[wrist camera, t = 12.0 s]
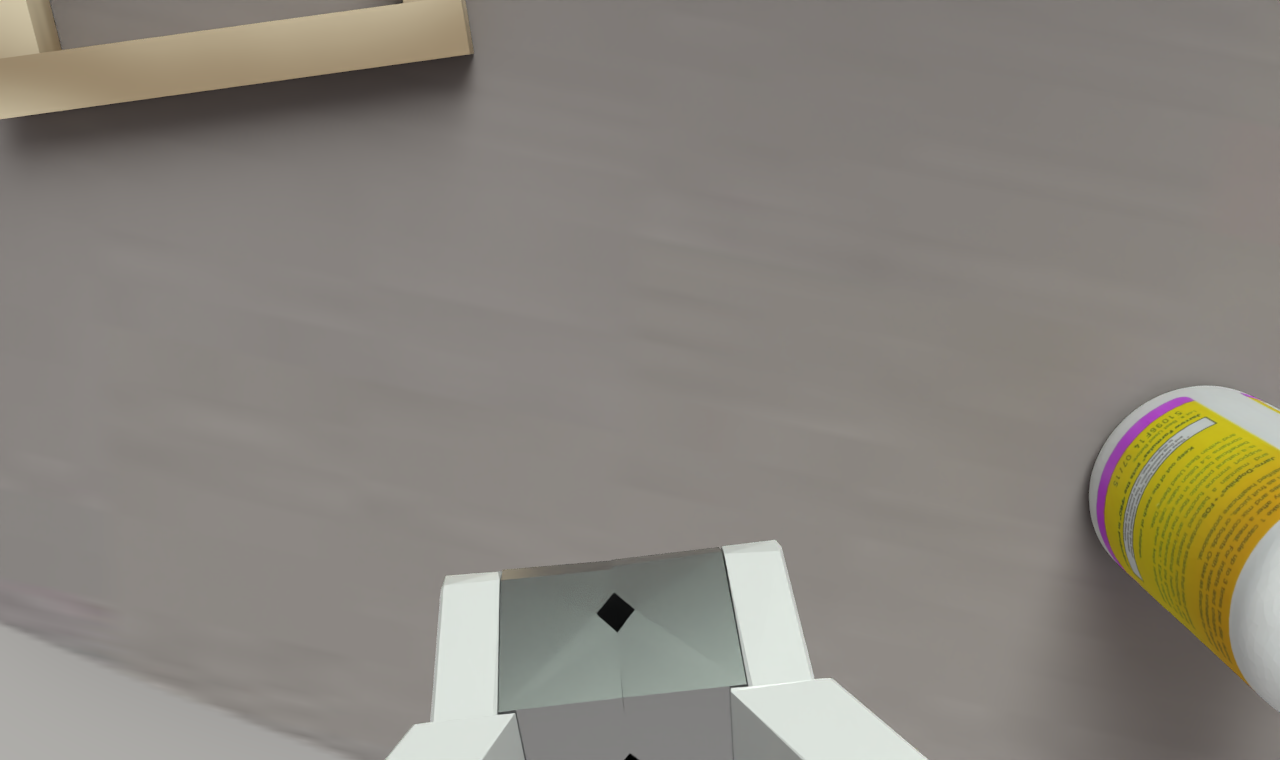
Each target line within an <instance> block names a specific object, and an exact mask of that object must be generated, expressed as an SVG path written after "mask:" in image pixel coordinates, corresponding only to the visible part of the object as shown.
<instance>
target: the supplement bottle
mask: <svg viewBox="0 0 1280 760" xmlns="http://www.w3.org/2000/svg"><path fill="white" fill-rule="evenodd" d="M1089 507H1090V514H1091V519H1092V523H1093V526H1094V529H1095V532H1096V534H1097V536H1098V538H1099V540H1100V542H1101V544H1102V545H1103V547H1104V549H1105V550H1106V551H1107V553H1108V554H1109V555H1110V556H1111V557H1112V559H1113V560H1114V561H1115V562H1116V563H1117V564H1118V565H1119V566H1120V567H1121V568H1122V569H1123V570H1124V571H1125V572H1127V573H1128V574H1129V575H1130V576H1131V577H1132V578H1133V579H1134V580H1135V581H1136V582H1137V583H1138V584H1139V585H1141V586H1142V587H1143V588H1144V589H1145V590H1146V591H1147V592H1148V593H1149V594H1150V595H1151V596H1153V597H1154V598H1155V599H1156V600H1157V601H1158V602H1159V603H1160V604H1161V605H1162V606H1163V607H1164V608H1165V609H1166V610H1168V611H1169V612H1170V613H1171V614H1172V615H1173V616H1174V617H1175V618H1176V619H1178V620H1179V621H1180V622H1181V623H1182V624H1183V625H1184V626H1185V627H1186V628H1188V629H1189V630H1190V631H1191V632H1192V633H1193V634H1194V635H1195V636H1196V637H1197V638H1198V639H1199V640H1200V641H1201V642H1202V643H1204V644H1205V645H1206V646H1207V647H1208V648H1209V649H1210V650H1211V651H1212V652H1213V653H1214V654H1215V655H1216V656H1218V657H1219V658H1220V659H1221V660H1222V661H1223V662H1224V663H1225V664H1226V665H1227V666H1228V667H1229V668H1231V669H1232V670H1233V671H1234V672H1235V673H1236V674H1237V675H1238V676H1239V677H1240V678H1241V679H1242V680H1243V681H1244V682H1245V683H1246V684H1247V685H1248V686H1250V687H1251V688H1252V689H1253V690H1254V691H1255V692H1256V693H1257V694H1258V695H1259V696H1260V697H1261V698H1262V699H1264V700H1265V701H1266V702H1267V703H1268V704H1269V705H1270V706H1271V707H1273V708H1274V709H1275V710H1277V711H1278V712H1279V713H1280V409H1278V408H1276V407H1274V406H1272V405H1270V404H1268V403H1266V402H1264V401H1262V400H1260V399H1258V398H1255V397H1253V396H1251V395H1249V394H1246V393H1244V392H1241V391H1238V390H1234V389H1230V388H1225V387H1220V386H1193V387H1187V388H1182V389H1177V390H1174V391H1170V392H1167V393H1165V394H1162V395H1160V396H1158V397H1155V398H1153V399H1152V400H1150V401H1148V402H1146V403H1144V404H1143V405H1141V406H1140V407H1138V408H1137V409H1136V410H1134V411H1133V412H1132V413H1131V414H1129V415H1128V416H1127V417H1126V418H1125V419H1124V420H1123V421H1122V422H1121V423H1120V424H1119V425H1118V426H1117V427H1116V428H1115V430H1114V431H1113V432H1112V433H1111V435H1110V436H1109V438H1108V439H1107V440H1106V442H1105V443H1104V445H1103V447H1102V449H1101V451H1100V453H1099V455H1098V457H1097V459H1096V462H1095V465H1094V468H1093V471H1092V475H1091V479H1090V488H1089Z"/></svg>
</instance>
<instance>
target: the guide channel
mask: <svg viewBox="0 0 1280 760" xmlns="http://www.w3.org/2000/svg"><path fill="white" fill-rule="evenodd" d="M468 54H474V50H473V44H472V38H471V32H470V26H469V20H468V14H467V8H466V2H465V0H403V3H402V4H394V5H387V6H380V7H372V8H365V9H358V10H351V11H343V12H336V13H329V14H321V15H314V16H307V17H300V18H292V19H285V20H278V21H270V22H263V23H256V24H249V25H241V26H234V27H227V28H219V29H212V30H205V31H198V32H190V33H183V34H176V35H168V36H161V37H154V38H147V39H139V40H132V41H125V42H117V43H110V44H103V45H96V46H88V47H81V48H74V49H67V50H61V46H60V42H59V38H58V34H57V30H56V26H55V22H54V18H53V14H52V10H51V6H50V2H49V0H0V119H6V118H13V117H20V116H27V115H35V114H42V113H49V112H56V111H64V110H71V109H78V108H85V107H92V106H100V105H107V104H114V103H121V102H129V101H136V100H143V99H150V98H158V97H165V96H172V95H179V94H186V93H194V92H201V91H208V90H215V89H223V88H230V87H237V86H244V85H251V84H259V83H266V82H273V81H280V80H288V79H295V78H302V77H309V76H316V75H324V74H331V73H338V72H345V71H353V70H360V69H367V68H374V67H381V66H389V65H396V64H403V63H410V62H418V61H425V60H432V59H439V58H446V57H454V56H461V55H468Z"/></svg>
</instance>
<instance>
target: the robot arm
mask: <svg viewBox="0 0 1280 760" xmlns="http://www.w3.org/2000/svg"><path fill="white" fill-rule="evenodd" d="M385 760H928V759H927V758H926V757H925V756H923V755H922V754H921V753H920V752H919V751H918V750H916V749H915V748H914V747H913V746H912V745H910V744H909V743H908V742H907V741H906V740H905V739H903V738H902V737H901V736H900V735H899V734H897V733H896V732H895V731H894V730H893V729H892V728H890V727H889V726H888V725H887V724H886V723H884V722H883V721H882V720H881V719H880V718H879V717H877V716H876V715H875V714H874V713H873V712H871V711H870V710H869V709H868V708H867V707H866V706H864V705H863V704H862V703H861V702H860V701H858V700H857V699H856V698H855V697H854V696H853V695H851V694H850V693H849V692H848V691H847V690H845V689H844V688H843V687H842V686H841V685H840V684H838V683H837V682H836V681H835V680H834V679H832V678H823V679H814V675H813V671H812V667H811V663H810V659H809V655H808V651H807V647H806V643H805V639H804V635H803V631H802V627H801V623H800V619H799V615H798V611H797V607H796V603H795V599H794V595H793V591H792V587H791V583H790V579H789V575H788V571H787V567H786V563H785V559H784V555H783V551H782V547H781V546H780V545H779V544H778V542H777V541H776V540H770V541H762V542H753V543H745V544H737V545H729V546H722V548H721V549H720V548H719V547H715V548H707V549H699V550H690V551H682V552H673V553H665V554H657V555H648V556H640V557H631V558H623V559H615V560H612V561H600V562H588V563H577V564H565V565H553V566H542V567H530V568H519V569H507V570H503V571H501V572H488V573H475V574H462V575H450V576H446V577H445V580H444V582H443V585H442V587H441V592H440V605H439V617H438V630H437V643H436V656H435V669H434V682H433V694H432V707H431V720H430V722H428V723H421V724H414V725H413V726H412V727H411V728H410V729H409V731H408V732H407V733H406V734H405V736H404V737H403V738H402V739H401V740H400V742H399V743H398V744H397V745H396V747H395V748H394V749H393V750H392V752H391V753H390V754H389V755H388V756H387V758H386V759H385Z"/></svg>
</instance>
